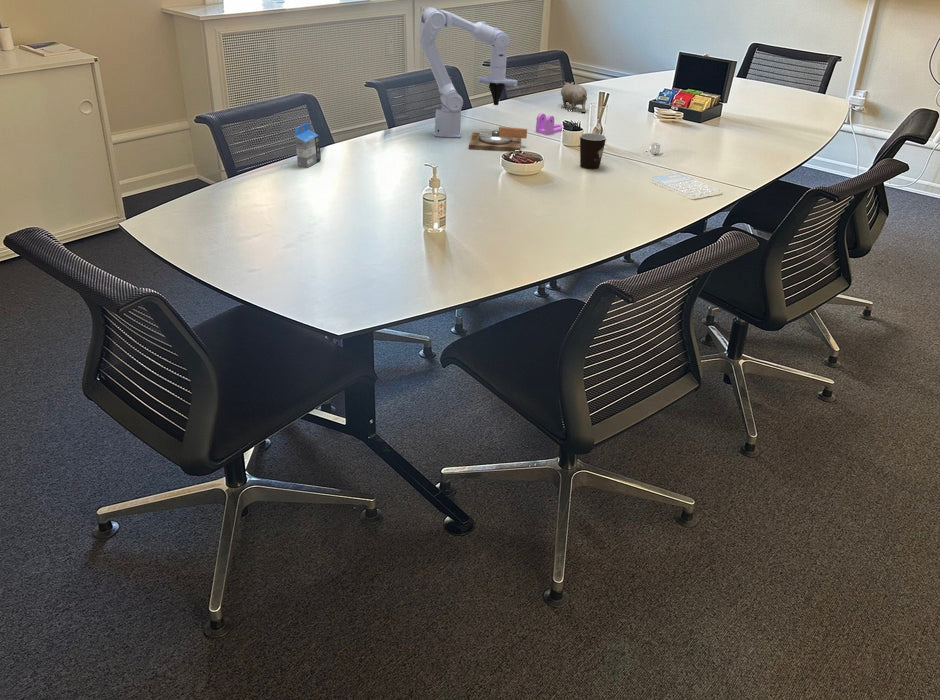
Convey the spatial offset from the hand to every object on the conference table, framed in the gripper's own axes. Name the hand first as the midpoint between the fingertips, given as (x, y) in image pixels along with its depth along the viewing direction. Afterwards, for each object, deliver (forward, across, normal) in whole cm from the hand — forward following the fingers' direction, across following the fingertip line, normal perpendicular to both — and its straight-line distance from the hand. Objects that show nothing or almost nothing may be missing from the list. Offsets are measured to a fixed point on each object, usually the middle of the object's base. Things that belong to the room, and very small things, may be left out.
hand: (496, 104), depth 300 cm
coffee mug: (+11, +40, -28) cm, 50 cm away
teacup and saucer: (+11, +62, -4) cm, 63 cm away
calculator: (+11, +70, -40) cm, 82 cm away
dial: (+9, +6, -14) cm, 18 cm away
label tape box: (+11, -49, -59) cm, 77 cm away
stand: (+10, +4, -15) cm, 18 cm away
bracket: (+11, +20, +11) cm, 25 cm away
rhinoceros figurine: (+11, +23, +50) cm, 56 cm away
